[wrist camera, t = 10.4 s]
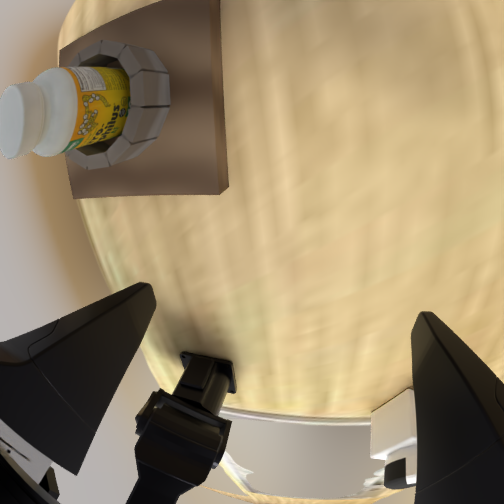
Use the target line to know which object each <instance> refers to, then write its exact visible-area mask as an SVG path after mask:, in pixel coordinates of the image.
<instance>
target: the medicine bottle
mask: <svg viewBox="0 0 504 504" xmlns="http://www.w3.org/2000/svg"><path fill="white" fill-rule="evenodd" d="M370 457H371V458H376V459H384V460H386V461H385V475H384V486H385V487H386V488H389V489H404V488H409V487H413V486H416V475H417V429H416V411H415V398H414V390H411V389H406V390H405V391H403V392H402V393H401V394H399V395H398V396H396V397H395V398H393V399H392V400H390V401H389V402H387V403H386V404H384V405H383V406H381V407H380V408H378V409H377V410H375V411H373V412H372V413H371V451H370Z"/></svg>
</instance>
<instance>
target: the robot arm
mask: <svg viewBox="0 0 504 504" xmlns="http://www.w3.org/2000/svg"><path fill="white" fill-rule="evenodd" d="M155 309H156V299H155V295H154V292H153V288H152V286H151V284H149V283H145V282H139V283H136V284H134V285H132V286H130V287H127V288H125V289H123V290H121V291H119V292H116V293H114V294H112V295H110V296H107V297H105V298H103V299H101V300H99V301H96V302H94V303H92V304H90V305H88V306H85V307H83V308H81V309H79V310H77V311H75V312H72V313H71V314H68V315H66V316H64V317H62V318H60V319H57V320H55V321H53V322H51V323H49V324H46V325H44V326H42V327H40V328H37V329H35V330H33V331H30V332H27V333H25V334H23V335H20V336H18V337H15V338H12V339H10V340H7V341H4V342H0V504H60V503H59V502H58V501H57V498H58V497H59V495H60V494H59V490H58V486H57V482H56V478H55V473H54V469H53V468H52V467H51V466H50V465H51V463H52V462H53V461H54V462H55V463H57V464H58V465H60V466H61V467H63V468H64V469H66V470H68V471H69V472H71V473H73V474H74V475H76V476H77V474H78V472H79V470H80V468H81V465H82V463H83V461H84V458H85V456H86V454H87V451H88V449H89V447H90V444H91V443H92V440H93V438H94V436H95V434H96V431H97V429H98V427H99V425H100V423H101V421H102V418H103V416H104V414H105V412H106V410H107V408H108V406H109V404H110V402H111V400H112V398H113V396H114V394H115V392H116V390H117V388H118V386H119V384H120V382H121V380H122V378H123V376H124V374H125V372H126V370H127V368H128V366H129V365H130V362H131V361H132V359H133V357H134V355H135V353H136V351H137V349H138V348H139V346H140V344H141V342H142V339H143V337H144V335H145V332H146V330H147V328H148V325H149V323H150V321H151V318H152V316H153V314H154V311H155ZM411 348H412V378H413V388H414V398H415V411H416V429H417V475H416V494H415V502H414V504H504V384H503V382H502V381H501V380H500V379H499V378H498V377H497V376H496V375H495V374H494V373H493V371H492V370H491V369H490V368H489V367H488V366H487V365H486V364H485V363H484V362H483V361H482V360H481V359H480V358H479V357H478V356H477V355H476V354H475V353H474V352H473V351H472V350H471V349H470V348H469V347H468V346H467V345H466V344H465V343H464V342H463V341H462V340H461V339H460V338H459V337H458V336H457V335H456V334H455V333H454V332H453V331H452V330H451V329H450V328H449V327H448V326H447V325H446V324H445V323H444V322H443V321H441V320H440V319H439V318H438V317H437V316H436V315H435V314H434V313H433V312H430V311H422V312H420V313H419V315H418V317H417V319H416V322H415V324H414V327H413V329H412V332H411ZM180 358H181V361H182V363H183V366H184V369H185V370H184V372H183V374H182V376H181V378H180V380H179V382H178V384H177V386H176V388H175V390H174V392H173V393H172V395H171V394H169V393H167V392H165V391H164V390H163V389H161V388H160V389H159V391H158V392H155V391H153V392H152V394H151V396H150V398H149V399H148V401H147V402H146V404H145V405H144V407H143V408H142V409H141V410H140V412H139V413H138V414H137V416H136V417H135V420H136V423H137V426H136V428H137V429H136V432H135V433H136V434H137V435H139V436H140V437H139V439H138V441H137V443H136V445H135V449H134V450H135V457H136V464H137V470H138V476H139V478H138V480H137V482H136V484H135V486H134V488H133V490H132V492H131V494H130V496H129V498H128V500H127V502H126V504H176V502H177V500H178V498H179V496H180V495H181V494H183V493H185V492H187V491H188V490H190V489H191V488H193V487H195V486H199V485H200V484H202V483H203V482H204V481H205V480H206V478H207V476H208V474H209V472H210V470H211V468H212V469H215V468H216V467H217V466H218V464H219V462H220V461H221V459H222V457H223V454H224V452H225V448H226V444H227V440H228V436H229V432H230V428H231V423H232V421H230V420H228V419H227V420H226V419H223V418H221V417H218V415H219V412H220V409H221V407H222V404H223V402H224V399H225V396H226V394H227V392H228V393H232V394H235V393H236V391H237V389H236V382H235V376H234V369H233V364H232V363H231V362H229V361H224V360H219V359H214V358H210V357H205V356H200V355H196V354H191V353H187V352H181V354H180ZM496 377H497V378H496Z"/></svg>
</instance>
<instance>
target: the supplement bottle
mask: <svg viewBox="0 0 504 504" xmlns="http://www.w3.org/2000/svg"><path fill="white" fill-rule="evenodd" d="M130 108H131V97H130V77H129V76H128V74H127V73H126V71H125V69H124V68H114V67H57V68H51V69H48V70H46V71H44V72H42V73H41V74H40V75H38V76H37V77H36V78H35V80H34V81H33V82H24V83H19V84H14V85H10V86H9V87H7V88H6V90H5V91H4V93H3V94H2V96H1V98H0V150H1V152H2V154H3V155H4V156H5V157H6V158H7V159H14V158H17V157H20V156H23V155H26V154H28V153H29V152H31V151H33V152H34V153H36V154H38V155H40V156H44V157H49V156H55V155H58V154H60V153H63V152H66V151H69V150H72V149H75V148H79V147H82V146H85V145H89V144H93V143H96V142H99V141H103V140H107V139H111V138H115V137H118V136H121V135H122V132H123V129H124V126H125V123H126V120H127V117H128V114H129V111H130Z"/></svg>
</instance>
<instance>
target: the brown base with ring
mask: <svg viewBox="0 0 504 504" xmlns="http://www.w3.org/2000/svg"><path fill="white" fill-rule="evenodd" d="M59 67H114V68H124V69H125V71H126V73H127V74H128V76H129V77H130V97H131V108H130V111H129V114H128V117H127V120H126V123H125V126H124V129H123V132H122V135H121V136H118V137H115V138H111V139H107V140H103V141H99V142H96V143H93V144H89V145H85V146H82V147H79V148H75V149H72V150H69V151H66V152H65V157H66V163H67V169H68V175H69V180H70V185H71V190H72V195H73V199H83V198H99V197H117V196H144V195H220V194H221V193H222V192H223V191H225V190H226V189H227V188H228V187H229V182H228V167H227V151H226V134H225V117H224V97H223V77H222V53H221V25H220V0H162V1H159V2H156V3H153V4H151V5H148V6H145V7H143V8H140V9H138V10H135V11H133V12H130V13H128V14H126V15H123V16H121V17H119V18H117V19H115V20H113V21H111V22H108V23H106V24H104V25H102V26H101V27H99V28H97V29H95V30H93V31H91V32H89V33H88V34H86V35H84V36H82V37H80V38H79V39H77V40H75V41H74V42H72V43H71V44H69V45H67V46H66V47H64V48H63V49H61V50H60V55H59Z"/></svg>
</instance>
